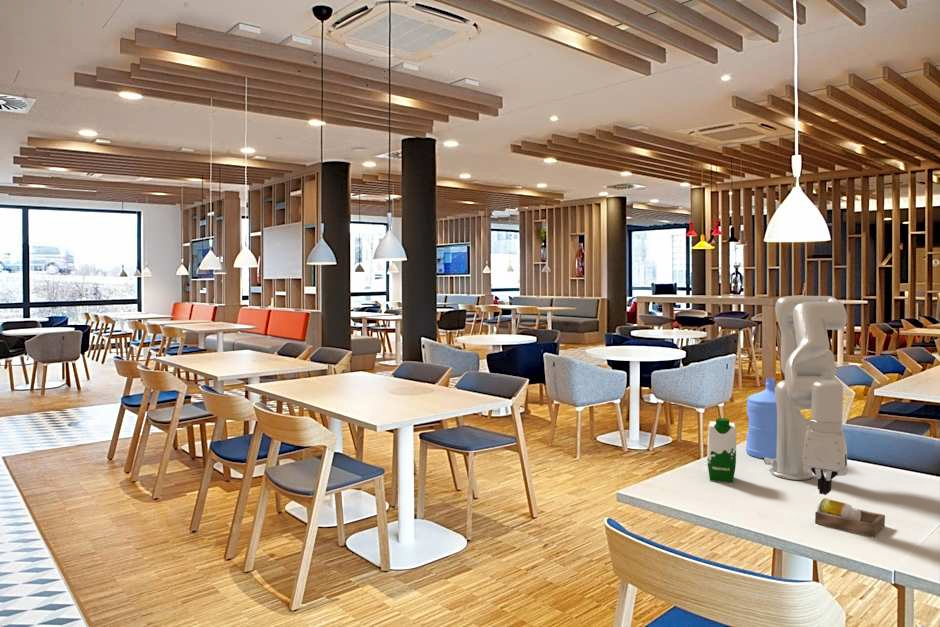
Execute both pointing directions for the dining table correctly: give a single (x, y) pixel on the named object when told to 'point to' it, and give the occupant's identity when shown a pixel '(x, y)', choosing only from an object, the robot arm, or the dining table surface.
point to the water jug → (762, 422)
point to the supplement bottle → (838, 509)
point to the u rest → (853, 522)
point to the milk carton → (721, 450)
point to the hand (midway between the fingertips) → (824, 493)
